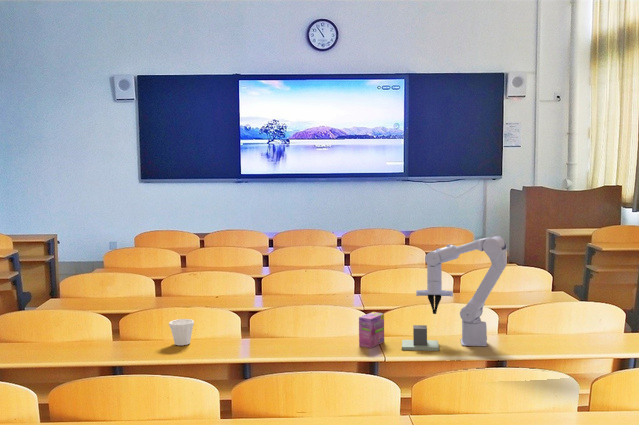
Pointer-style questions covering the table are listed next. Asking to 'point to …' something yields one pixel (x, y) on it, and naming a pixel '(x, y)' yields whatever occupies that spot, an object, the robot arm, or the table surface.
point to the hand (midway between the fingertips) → (434, 313)
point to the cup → (181, 331)
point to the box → (371, 329)
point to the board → (431, 346)
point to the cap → (420, 335)
